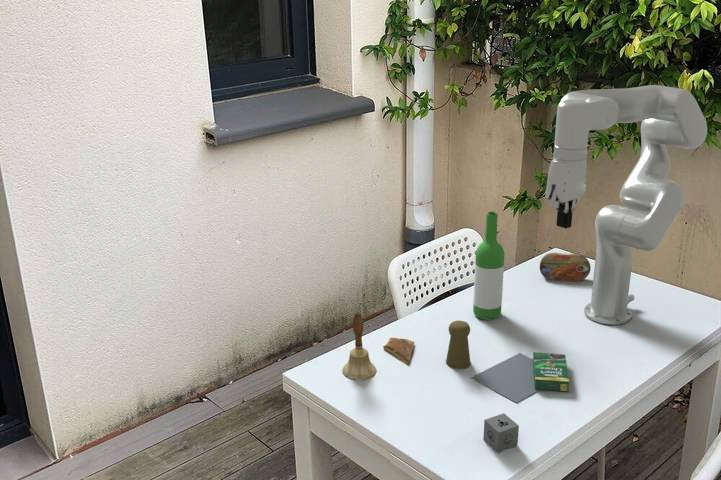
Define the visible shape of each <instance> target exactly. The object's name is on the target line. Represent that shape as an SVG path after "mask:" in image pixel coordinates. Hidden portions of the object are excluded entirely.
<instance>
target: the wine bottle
mask: <svg viewBox="0 0 721 480" xmlns="http://www.w3.org/2000/svg"><path fill="white" fill-rule="evenodd" d="M498 215H499V214H498V213H497V212H496V211H488V212H486V216H485V217H486V218H485V237H484V238H485V239H484V240H483V241H482V242H481V243H480V244H479V245H478V246H477V249H476V252H475V259H474V278H473V281H474V282H473V283H474V284H473V303H472V304H473V307H472V311H473V314H474V315H475V317H476V318H478V319H481V320H482V319H483V320H495V319H498V318H499V317H500V316H501V314H502V306H503V305H502V304H503V290H504V289H503V287H504V286H503V285H504V270H505V250H504V248H503V246H502V245H501V243H500V242H498V240H497V237H498V236H497V235H498V233H497V232H498Z"/></svg>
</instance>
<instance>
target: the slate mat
mask: <svg viewBox="0 0 721 480" xmlns="http://www.w3.org/2000/svg"><path fill="white" fill-rule="evenodd" d="M470 379H471V380H473V381H475V382H477V383H479V384H480V385H481V386H482V385H483V386H484V387H486V388H488V389H490V390H491V391H494V393H497V394H499V395H500V396H502V397H504V398H506V399H508V400H509V401H512V402H513V403H515V404H518V403H520V402H522V401H523V400H525V399H527V398H528V397H531V396H532V395H534V394H536V393H537V392H539V391H541V389H535V386H534V373H533V357H532V358H531V357H529V356H527V355H525V354H523V353H521V352H519V353H517V354H515V355H513V356H510V357H509V358H507V359H504V360H503V361H501V362H499V363H497V364H495V365H493V366H490V367H489V368H487V369H485V370H483V371H481V372H479V373H477V374H475V375H473V376H471V377H470Z"/></svg>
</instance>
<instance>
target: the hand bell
mask: <svg viewBox="0 0 721 480" xmlns="http://www.w3.org/2000/svg"><path fill="white" fill-rule="evenodd" d="M352 330H353V333H354V337H355V338H354V339H355V340H354V342H355V343H354V345H355V347H354V348H352V349H351V350H350V351H349V357H348V361H347V363H345V364H344V366H343V367H342V369H341V370H342V374H343V375H344V376H345V377H346V376H347V377H346V378H348V377H349V379H350V378H353V379H352V380H355V379H363V380H366V379H365V378H368V379H370V378H372V377H373V376H375V375H376V373H377V367H376V366H375V365H374V363H372V361H371V359H370V356H369V350H368V349H367V348H365V347H363V339H362V338H363V337H362V336H363V332H364V319H363V317H362V313H361V312H360V311H355V312H354V316H353V319H352ZM374 374H375V375H374Z"/></svg>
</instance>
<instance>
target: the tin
mask: <svg viewBox="0 0 721 480" xmlns="http://www.w3.org/2000/svg"><path fill="white" fill-rule="evenodd" d="M539 272H540V274H541V275H542V276H543V278H545V279H547V280H549V281H561V282H562V281H563V282H564V281H565V282H580V281H583V280H585V279H586V278H588V276H589V275H590V273H591V263H590V261H589V260H588V258H587V257H586V256H585V255H583V254H581V253H576V252H575V253H573V252H572V253H569V252H566V253H565V252H549V253H547V254H544V255H543V256H542V258H541V260H540V262H539Z"/></svg>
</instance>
